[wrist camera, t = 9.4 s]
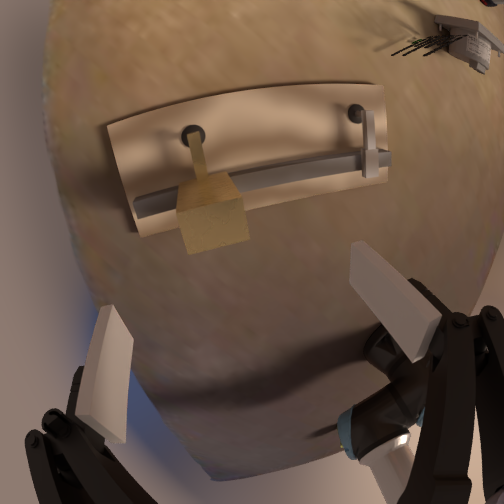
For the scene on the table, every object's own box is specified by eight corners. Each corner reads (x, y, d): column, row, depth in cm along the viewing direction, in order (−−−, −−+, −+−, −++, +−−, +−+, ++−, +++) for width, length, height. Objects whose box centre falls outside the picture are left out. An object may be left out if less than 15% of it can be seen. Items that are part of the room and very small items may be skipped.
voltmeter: (451, 9, 22) (490, 7, 13) (474, 61, 28) (513, 65, 19) (367, 41, 26) (417, 32, 17) (402, 109, 31) (452, 118, 23)
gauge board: (381, 179, 36) (400, 188, 32) (142, 232, 32) (137, 249, 29) (376, 85, 29) (397, 85, 25) (110, 125, 25) (98, 127, 21)
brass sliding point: (230, 198, 31) (250, 239, 22) (187, 208, 30) (188, 255, 21) (216, 126, 27) (230, 133, 17) (169, 137, 26) (158, 150, 17)
